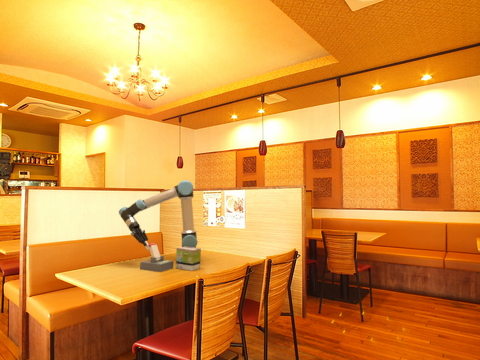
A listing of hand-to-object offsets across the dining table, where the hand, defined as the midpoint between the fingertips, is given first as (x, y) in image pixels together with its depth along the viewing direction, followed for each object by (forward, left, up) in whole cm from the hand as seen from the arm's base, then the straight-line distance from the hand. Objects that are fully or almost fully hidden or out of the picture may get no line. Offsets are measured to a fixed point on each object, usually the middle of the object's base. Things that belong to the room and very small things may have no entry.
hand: (149, 249), depth 220 cm
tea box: (-28, +3, -14) cm, 32 cm away
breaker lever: (-6, +3, -7) cm, 10 cm away
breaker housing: (-6, +3, -13) cm, 15 cm away
